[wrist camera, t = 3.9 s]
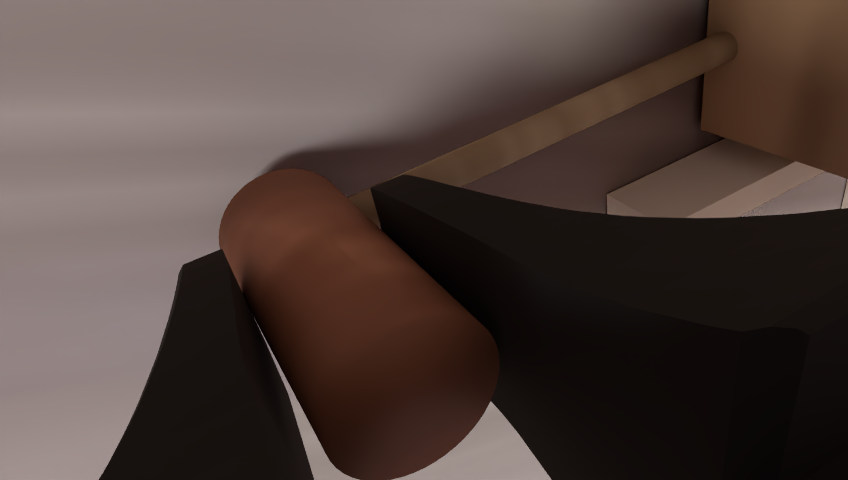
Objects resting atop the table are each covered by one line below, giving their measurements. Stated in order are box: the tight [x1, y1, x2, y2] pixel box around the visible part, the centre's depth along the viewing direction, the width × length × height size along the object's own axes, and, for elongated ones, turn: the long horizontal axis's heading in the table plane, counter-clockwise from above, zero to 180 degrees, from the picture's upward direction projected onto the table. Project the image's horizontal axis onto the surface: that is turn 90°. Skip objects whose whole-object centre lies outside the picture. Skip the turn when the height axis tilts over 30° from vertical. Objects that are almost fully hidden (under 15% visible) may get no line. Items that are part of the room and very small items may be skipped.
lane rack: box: [607, 138, 848, 218], centre depth 15 cm, size 11×21×2 cm, turn 14°
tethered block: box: [219, 0, 848, 480], centre depth 11 cm, size 16×4×5 cm, turn 104°
